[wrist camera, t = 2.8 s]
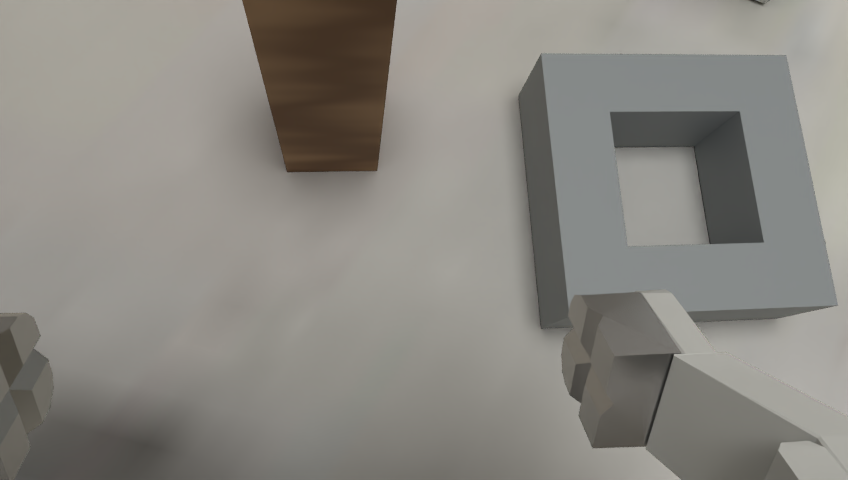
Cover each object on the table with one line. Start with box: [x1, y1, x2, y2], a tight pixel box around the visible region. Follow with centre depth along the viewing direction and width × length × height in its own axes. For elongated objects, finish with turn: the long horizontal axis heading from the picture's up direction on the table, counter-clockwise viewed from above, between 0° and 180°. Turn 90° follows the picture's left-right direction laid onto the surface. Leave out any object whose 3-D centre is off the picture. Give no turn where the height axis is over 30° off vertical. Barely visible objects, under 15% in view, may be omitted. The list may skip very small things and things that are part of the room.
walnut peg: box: [242, 0, 397, 172], centre depth 21 cm, size 4×4×12 cm
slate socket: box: [519, 54, 838, 329], centre depth 26 cm, size 10×10×4 cm
